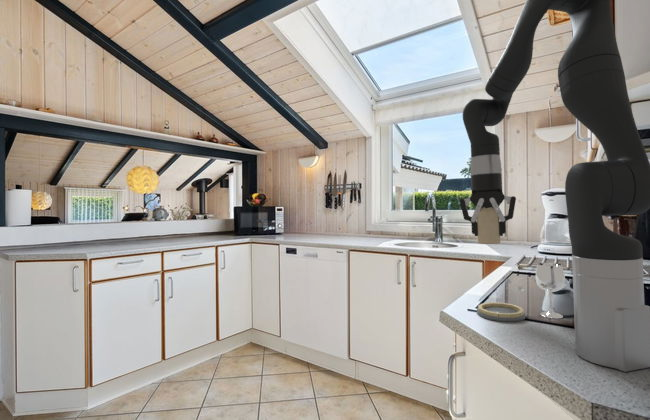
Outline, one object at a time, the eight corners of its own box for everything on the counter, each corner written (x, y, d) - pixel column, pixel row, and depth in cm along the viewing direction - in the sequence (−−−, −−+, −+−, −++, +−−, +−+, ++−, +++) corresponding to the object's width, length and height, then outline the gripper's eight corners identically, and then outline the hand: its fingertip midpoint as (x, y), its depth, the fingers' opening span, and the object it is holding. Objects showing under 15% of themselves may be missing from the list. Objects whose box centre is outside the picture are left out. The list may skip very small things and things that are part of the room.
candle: (479, 244, 90) (477, 206, 90) (476, 242, 96) (475, 206, 96) (502, 244, 89) (500, 205, 89) (498, 242, 94) (496, 205, 94)
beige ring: (536, 318, 78) (536, 311, 78) (497, 324, 76) (496, 316, 76) (503, 306, 88) (503, 300, 88) (467, 310, 86) (467, 304, 86)
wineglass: (540, 318, 78) (538, 266, 78) (534, 311, 84) (532, 262, 84) (570, 320, 76) (568, 266, 76) (561, 312, 82) (559, 262, 82)
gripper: (515, 172, 92) (518, 234, 92) (459, 176, 99) (461, 234, 99) (517, 169, 86) (519, 237, 86) (456, 174, 92) (458, 237, 92)
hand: (488, 235), depth 92 cm, fingers closed on candle, 5 cm apart
